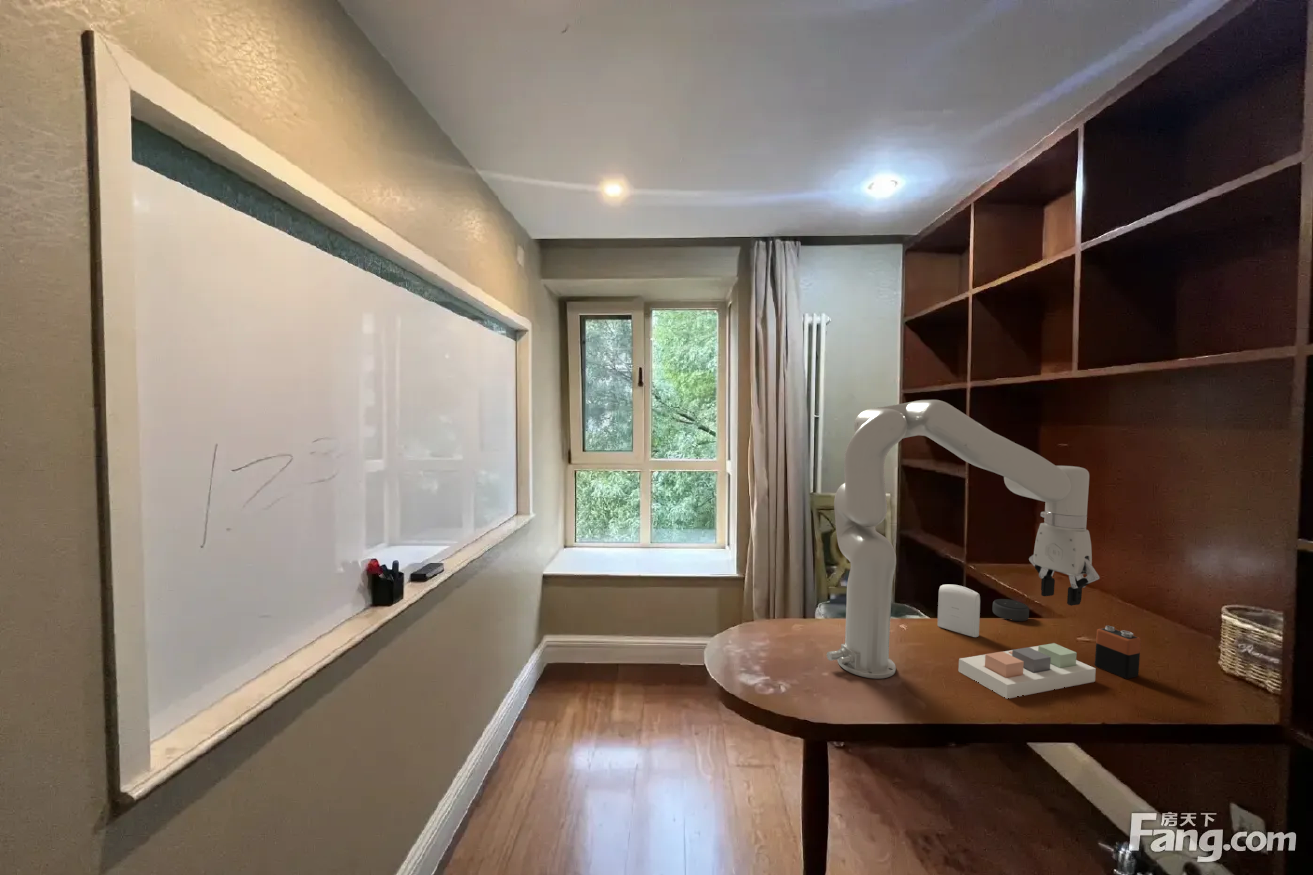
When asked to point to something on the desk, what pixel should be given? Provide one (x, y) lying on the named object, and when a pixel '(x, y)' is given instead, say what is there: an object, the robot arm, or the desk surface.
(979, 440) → the robot arm
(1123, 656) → the battery
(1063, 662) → the sage key
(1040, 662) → the charcoal key
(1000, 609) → the smart speaker
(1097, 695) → the desk surface
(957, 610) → the photo printer
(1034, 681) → the white flat slab
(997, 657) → the terracotta key
